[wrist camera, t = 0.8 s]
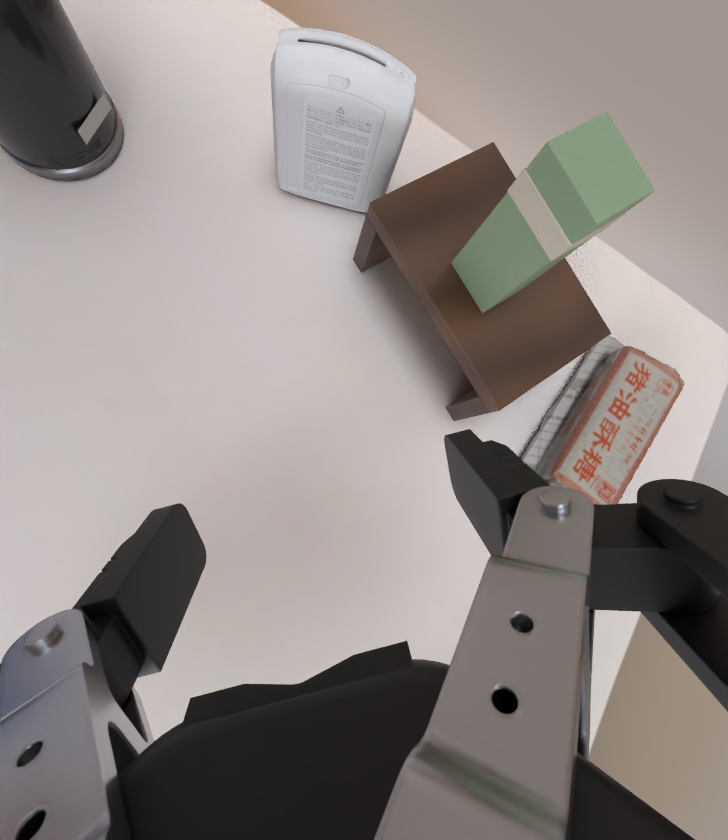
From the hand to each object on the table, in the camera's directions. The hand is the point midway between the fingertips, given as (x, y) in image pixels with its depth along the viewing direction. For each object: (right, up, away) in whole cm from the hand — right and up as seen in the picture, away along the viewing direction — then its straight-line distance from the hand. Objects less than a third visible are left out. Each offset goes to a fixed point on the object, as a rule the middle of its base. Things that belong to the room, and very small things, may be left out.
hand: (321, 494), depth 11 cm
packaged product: (+24, +1, +27) cm, 36 cm away
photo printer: (-2, +24, +24) cm, 34 cm away
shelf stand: (+10, +13, +25) cm, 30 cm away
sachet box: (+11, +13, +17) cm, 24 cm away
